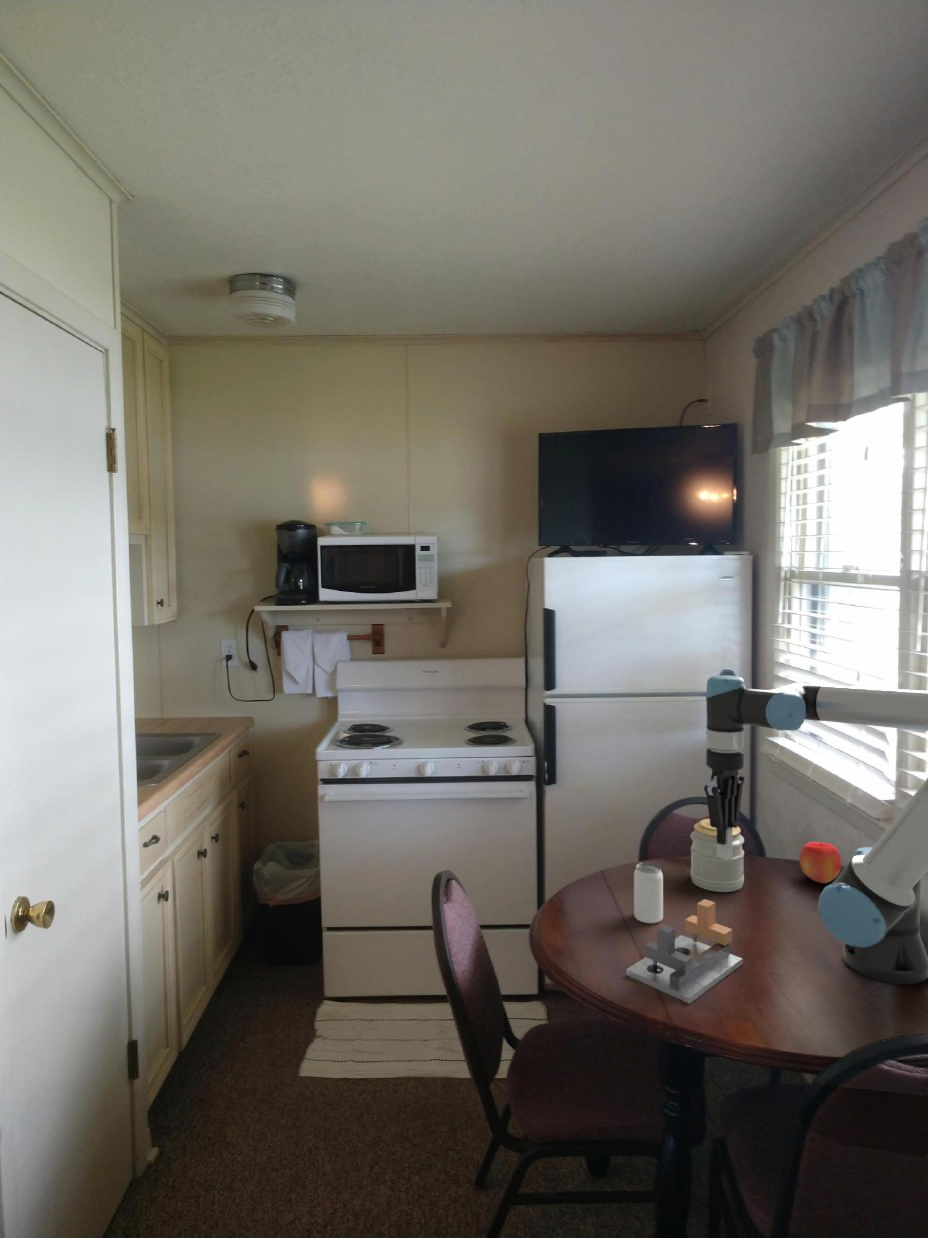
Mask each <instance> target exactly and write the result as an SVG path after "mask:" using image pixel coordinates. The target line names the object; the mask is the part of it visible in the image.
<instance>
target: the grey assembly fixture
mask: <svg viewBox="0 0 928 1238" xmlns="http://www.w3.org/2000/svg"><path fill="white" fill-rule="evenodd" d="M675 931H676V929H675V927H672V926H669V925H667V924H662V925H660V926H659V927H657V929H656V933H657V934H656V939H657V940H656V942H655V941H650V942H648V943H646V944H645V945H644V958H642V959H640V960H639V961H637V962H635V963H634V964H633V965H631V966H629V967H628V968H626V974H625V975H626V976H628V977H630V978H632V979H635V980H637V981H638V982H641V983H642V984H643V983H644V984H646V985H647V986H650V987H652V988H655V989H656V990H658V991H661V992H663V993H664V994H667V995H670V997H673V998H676V999H679V1000H680V1001H682V1002H684V1003H687V1004H691V1003H692V1002H694V1001H695V1000H696V999H698V998H699V997H700V996H702V995H703V994H704V993H707V992H708V991H709V990H710V989H711V988H713V987H714V986H715V985H717V984H718V983H720V982H721V981H722V980H723V979H725V978H726V977H727V976H729V975H730V974H731V973H733V972H734V971H736V970H737V969H738V968H740V966H742V965H743V958H741V957H740V956H737V955H734V954H732V953H731V951H730V950H731V948H730V947H731V944H730V942H729V943H728V944H727V945H725V946H724V945H722V944H719V943H716V942H715V944H713V945H711V946H710V945H708V944H706V943H703V942H700V941H698V942H694V941H693V938H690V937H688V936H686V935H682V934H681V935H679V936H678V937H676V934H675V933H676V932H675Z"/></svg>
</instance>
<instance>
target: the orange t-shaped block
mask: <svg viewBox="0 0 928 1238" xmlns="http://www.w3.org/2000/svg"><path fill="white" fill-rule="evenodd" d="M696 910H697V911H696V913H697V914H696V915H694V914H693V915H690V916H689V917H687V918H686V919H684V920H685V921H684V922H685V923H684V925H685V930H684V931H685V932H687V933H691V934H692V939H693V941H694V942H699V939H698V937H701V938H704V939H706V940H708V941H712V942H714V943H715V944H716V943H719V944H722V945H724V946H725V945H727V944H728V943H729V944H730V943H731V942H732V941H733V929H732V928H730V927H727V926H724V925H722V924H720V923H716V902H715V901H712V900H708V899H705V898H704V899H702V900H701V901H699V902H697V904H696Z"/></svg>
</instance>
